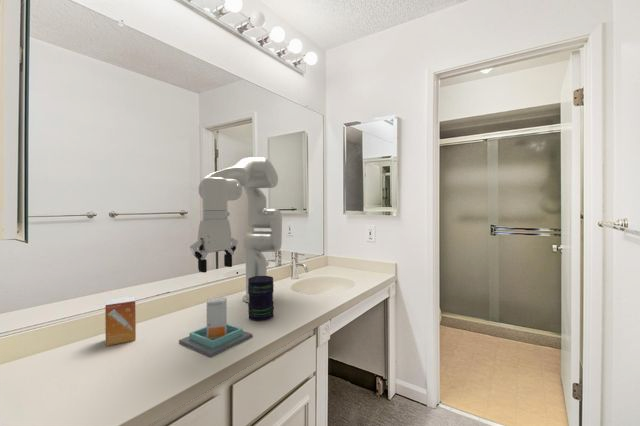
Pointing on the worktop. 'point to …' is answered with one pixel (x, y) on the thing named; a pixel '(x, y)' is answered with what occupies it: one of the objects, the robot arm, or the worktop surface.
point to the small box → (120, 320)
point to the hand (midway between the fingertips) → (215, 269)
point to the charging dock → (215, 340)
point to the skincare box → (216, 317)
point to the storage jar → (260, 298)
